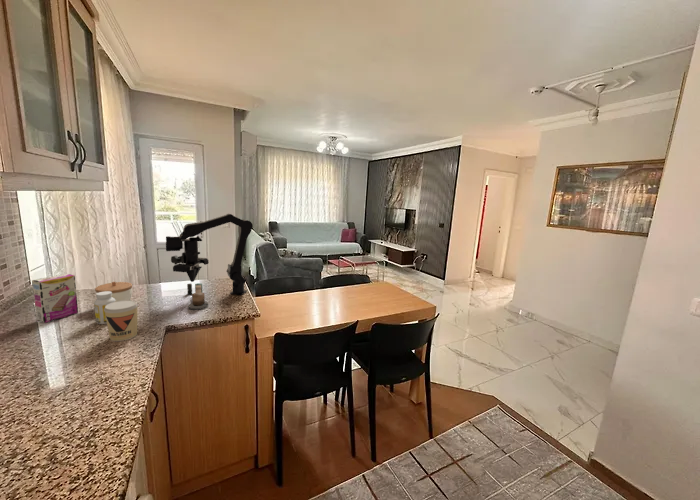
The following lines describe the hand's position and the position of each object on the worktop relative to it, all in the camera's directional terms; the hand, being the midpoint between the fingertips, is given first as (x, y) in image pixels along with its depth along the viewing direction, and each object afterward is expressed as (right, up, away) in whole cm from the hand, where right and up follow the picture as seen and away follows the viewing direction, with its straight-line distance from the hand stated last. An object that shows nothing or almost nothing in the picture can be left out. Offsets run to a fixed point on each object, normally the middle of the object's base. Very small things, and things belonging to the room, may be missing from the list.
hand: (192, 281), depth 140 cm
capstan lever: (+4, -8, -1) cm, 9 cm away
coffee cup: (-4, -16, -37) cm, 41 cm away
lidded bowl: (-27, -10, -12) cm, 32 cm away
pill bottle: (-19, -13, -27) cm, 35 cm away
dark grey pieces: (+2, -9, -1) cm, 10 cm away
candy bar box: (-39, -11, -26) cm, 48 cm away
